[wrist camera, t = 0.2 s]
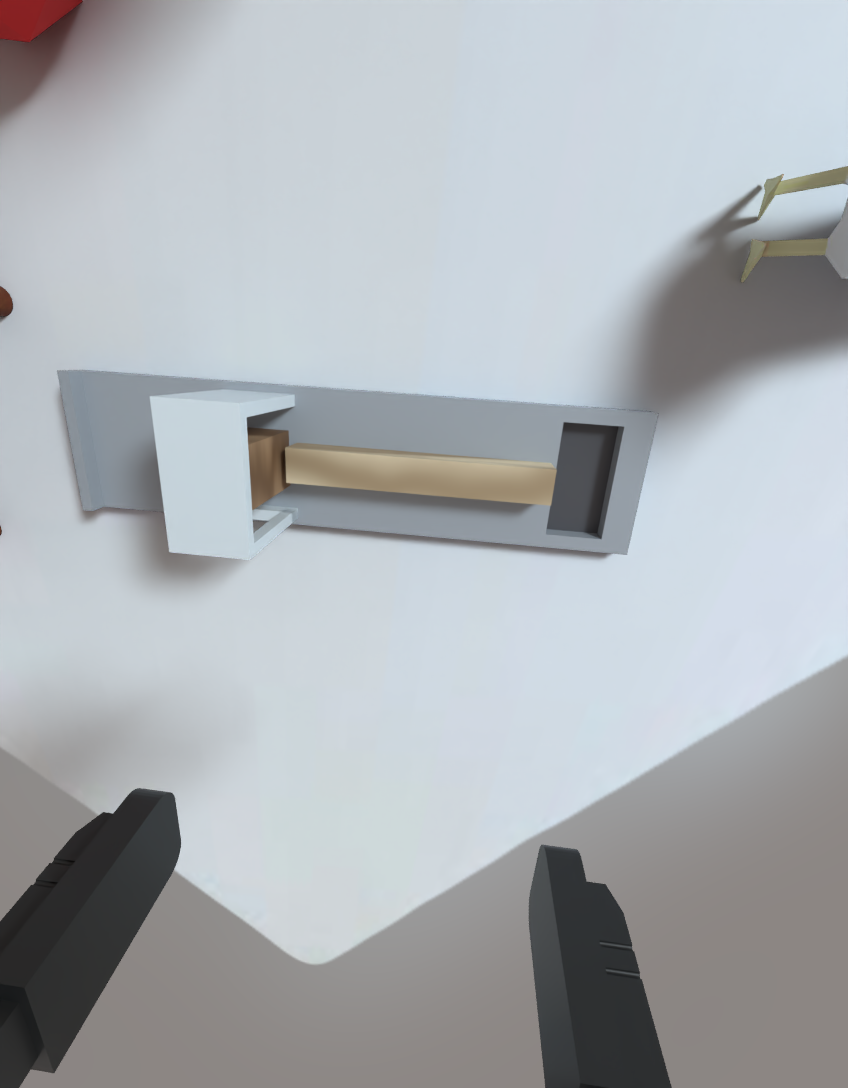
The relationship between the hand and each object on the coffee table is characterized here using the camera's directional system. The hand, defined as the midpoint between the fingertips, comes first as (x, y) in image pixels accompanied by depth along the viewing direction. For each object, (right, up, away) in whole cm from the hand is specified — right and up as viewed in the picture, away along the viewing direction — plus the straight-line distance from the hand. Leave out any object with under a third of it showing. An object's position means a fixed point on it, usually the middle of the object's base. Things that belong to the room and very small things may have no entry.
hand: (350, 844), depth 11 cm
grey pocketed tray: (-4, +13, +26) cm, 29 cm away
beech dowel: (+1, +12, +24) cm, 27 cm away
